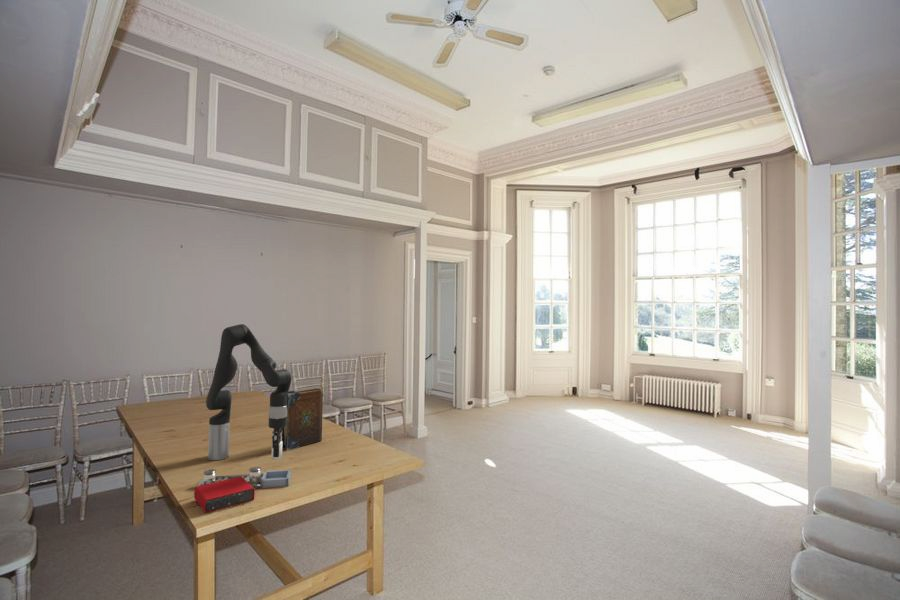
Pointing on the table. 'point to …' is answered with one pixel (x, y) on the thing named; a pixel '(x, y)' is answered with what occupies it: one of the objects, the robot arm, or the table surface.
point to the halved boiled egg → (279, 452)
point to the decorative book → (303, 418)
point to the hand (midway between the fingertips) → (276, 454)
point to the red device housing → (223, 494)
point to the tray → (275, 478)
